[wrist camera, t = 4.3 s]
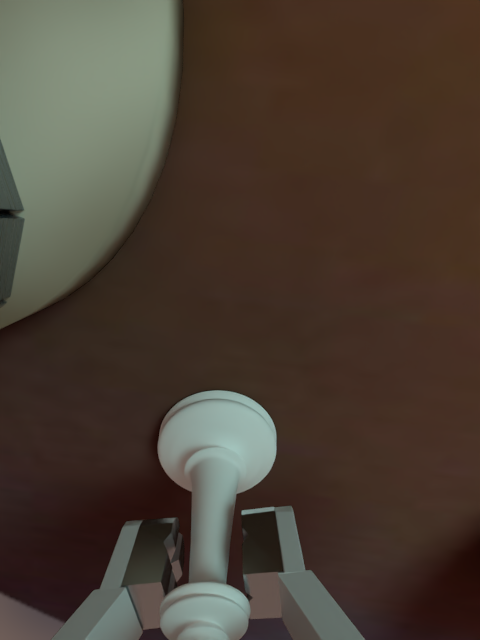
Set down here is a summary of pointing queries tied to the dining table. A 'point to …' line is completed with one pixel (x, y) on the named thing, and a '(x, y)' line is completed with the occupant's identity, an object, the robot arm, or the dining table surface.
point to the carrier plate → (83, 131)
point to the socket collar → (8, 227)
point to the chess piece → (212, 504)
